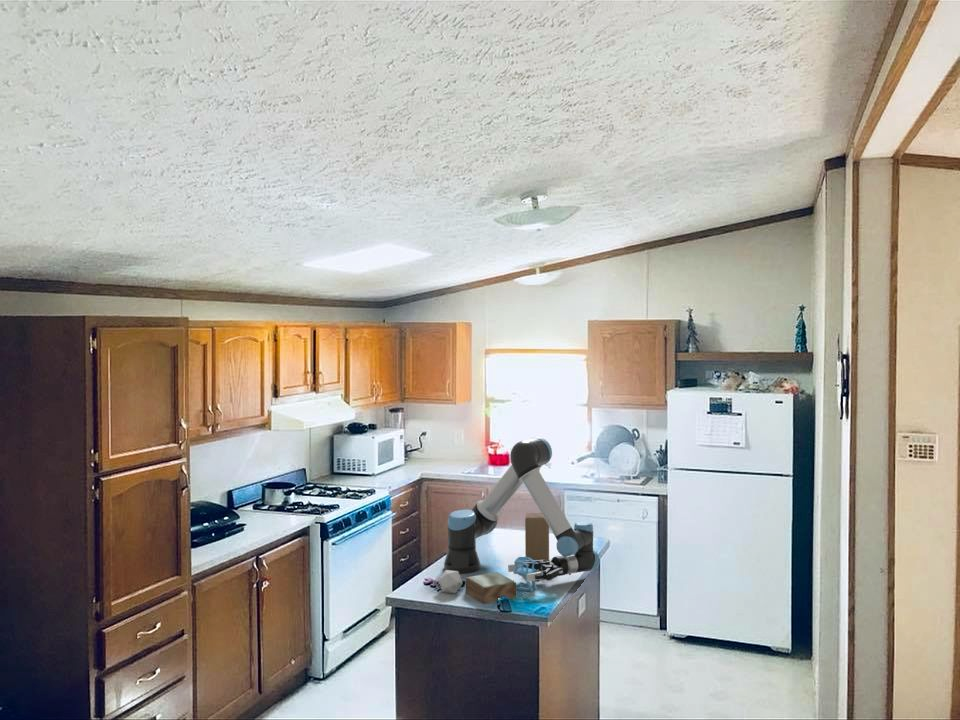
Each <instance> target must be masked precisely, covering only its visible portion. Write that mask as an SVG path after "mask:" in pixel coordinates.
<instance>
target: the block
mask: <svg viewBox="0 0 960 720" xmlns="http://www.w3.org/2000/svg"><path fill="white" fill-rule="evenodd" d="M524 521H525V523H524V524H525V525H524V526H525V528H524V529H525V531H524V532H525V533H524V534H525V536H524V539H525V550H524V551H525V557H528V558H531V559H532V560H545V562H546V561H550V527H549V525H548V523H547V522H546V520H545V518H544V517H543V515H542V513H541V512H527V513H526V515H525V520H524Z"/></svg>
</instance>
